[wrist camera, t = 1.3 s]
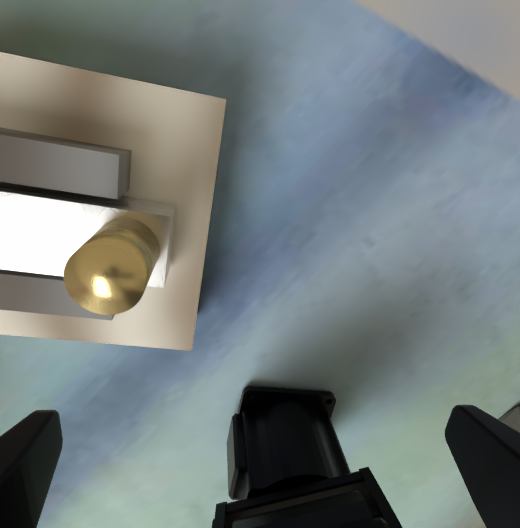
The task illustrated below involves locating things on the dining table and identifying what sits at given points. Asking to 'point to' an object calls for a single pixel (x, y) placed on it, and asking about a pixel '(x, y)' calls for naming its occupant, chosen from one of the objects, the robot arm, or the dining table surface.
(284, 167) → the dining table surface
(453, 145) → the dining table surface
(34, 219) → the slide bolt
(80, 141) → the door mockup
